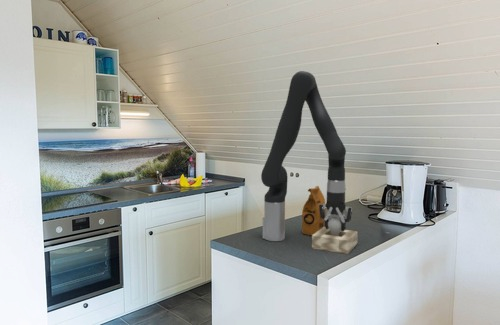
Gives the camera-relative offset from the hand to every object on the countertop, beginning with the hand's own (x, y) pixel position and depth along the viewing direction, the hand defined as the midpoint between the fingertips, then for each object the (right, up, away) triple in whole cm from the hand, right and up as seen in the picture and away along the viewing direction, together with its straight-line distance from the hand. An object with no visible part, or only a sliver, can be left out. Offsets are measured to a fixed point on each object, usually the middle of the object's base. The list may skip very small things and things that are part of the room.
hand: (335, 229), depth 154 cm
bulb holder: (0, -7, +1) cm, 7 cm away
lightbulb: (0, -6, +1) cm, 6 cm away
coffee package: (-5, -5, +21) cm, 22 cm away
